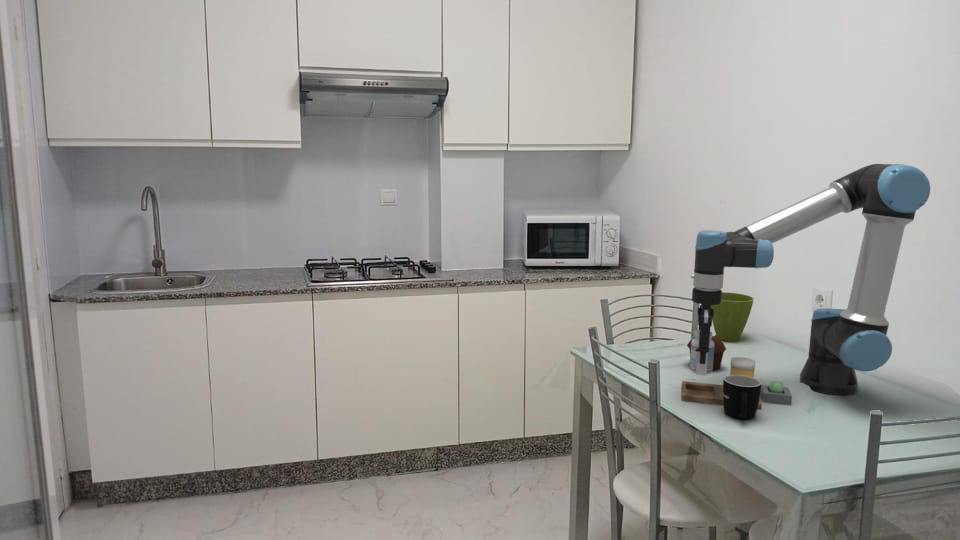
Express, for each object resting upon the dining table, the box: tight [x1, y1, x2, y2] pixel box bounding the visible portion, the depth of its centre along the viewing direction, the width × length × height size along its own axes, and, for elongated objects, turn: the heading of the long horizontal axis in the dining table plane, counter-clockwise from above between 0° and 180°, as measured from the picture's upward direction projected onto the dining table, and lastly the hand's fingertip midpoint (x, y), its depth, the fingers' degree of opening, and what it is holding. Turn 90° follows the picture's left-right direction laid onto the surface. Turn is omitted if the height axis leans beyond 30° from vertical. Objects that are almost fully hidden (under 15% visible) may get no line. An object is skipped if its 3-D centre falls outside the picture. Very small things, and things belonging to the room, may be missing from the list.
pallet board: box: [680, 380, 763, 411], centre depth 179 cm, size 20×12×2 cm, turn 73°
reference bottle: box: [729, 356, 756, 378], centre depth 177 cm, size 6×6×11 cm
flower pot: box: [711, 291, 754, 343], centre depth 238 cm, size 15×15×16 cm
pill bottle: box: [689, 329, 714, 375], centre depth 179 cm, size 6×6×11 cm
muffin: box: [686, 335, 727, 372], centre depth 207 cm, size 12×11×10 cm
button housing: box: [760, 384, 793, 406], centre depth 178 cm, size 7×7×4 cm
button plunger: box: [769, 380, 785, 393], centre depth 178 cm, size 3×3×4 cm
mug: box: [722, 374, 762, 421], centre depth 166 cm, size 12×9×10 cm
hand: (700, 370), depth 180 cm, fingers closed on pill bottle, 6 cm apart
